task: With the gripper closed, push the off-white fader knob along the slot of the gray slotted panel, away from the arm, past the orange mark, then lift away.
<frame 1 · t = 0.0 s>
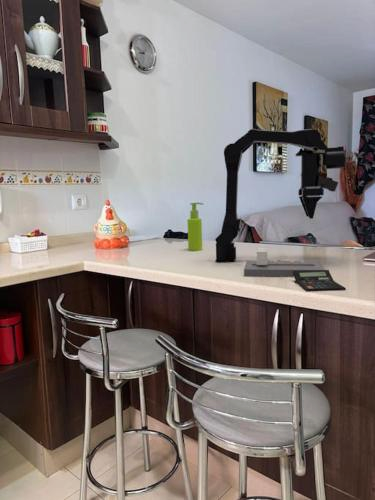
hand: (309, 217, 127), 15 cm above the countertop, tool pointing down, fingers open, 9 cm apart
gray slotted panel: (282, 271, 114), on the countertop
calculator: (317, 286, 97), on the countertop
fader: (262, 256, 114), point 5 cm above the countertop, slide at 0.0 cm
soap dispenser: (196, 250, 162), on the countertop
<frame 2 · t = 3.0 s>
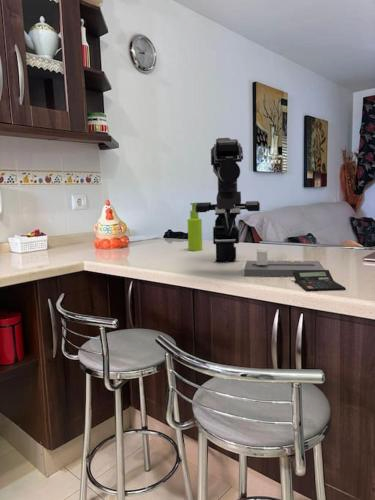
hand: (228, 235, 116), 11 cm above the countertop, tool pointing down, fingers closed
nothing on the countertop moved.
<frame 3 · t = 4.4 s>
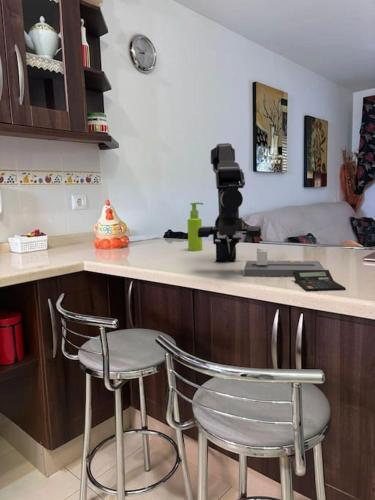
hand: (230, 259, 117), 4 cm above the countertop, tool pointing down, fingers closed
nothing on the countertop moved.
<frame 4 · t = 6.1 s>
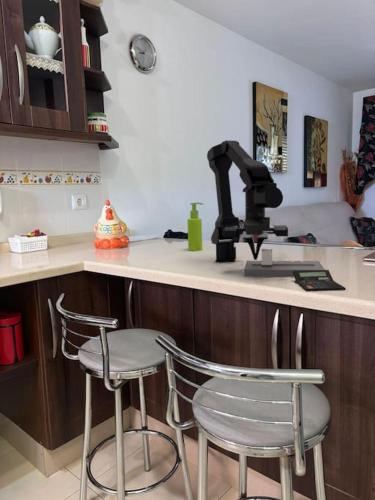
hand: (255, 259, 115), 4 cm above the countertop, tool pointing down, fingers closed
fader: (266, 256, 114), point 5 cm above the countertop, slide at 1.4 cm, touching gripper
everything else where it was.
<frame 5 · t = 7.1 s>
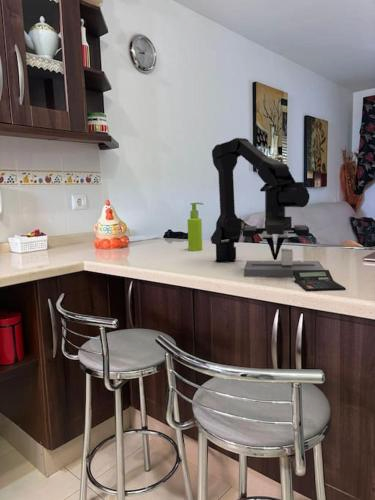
hand: (275, 259, 114), 4 cm above the countertop, tool pointing down, fingers closed
fader: (286, 256, 113), point 5 cm above the countertop, slide at 7.2 cm, touching gripper
everything else where it was.
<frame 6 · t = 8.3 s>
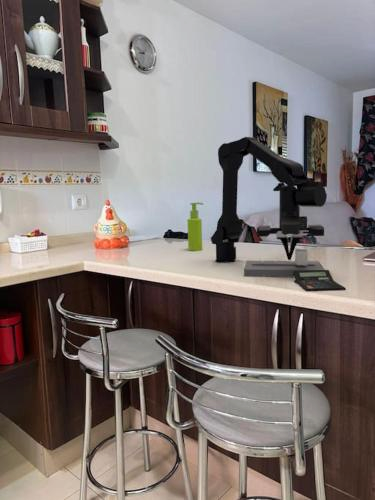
hand: (289, 259, 113), 4 cm above the countertop, tool pointing down, fingers closed
fader: (301, 256, 112), point 5 cm above the countertop, slide at 11.3 cm, touching gripper
everything else where it was.
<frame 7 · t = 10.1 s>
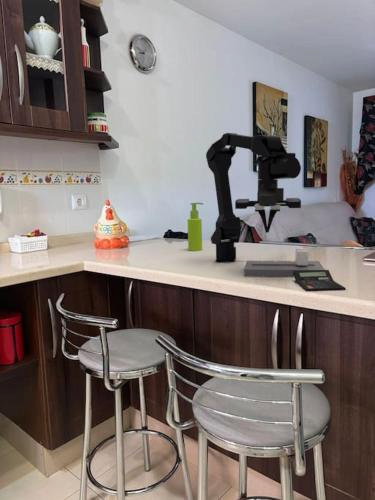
hand: (267, 232, 115), 12 cm above the countertop, tool pointing down, fingers closed
fader: (301, 256, 112), point 5 cm above the countertop, slide at 11.4 cm
everything else where it was.
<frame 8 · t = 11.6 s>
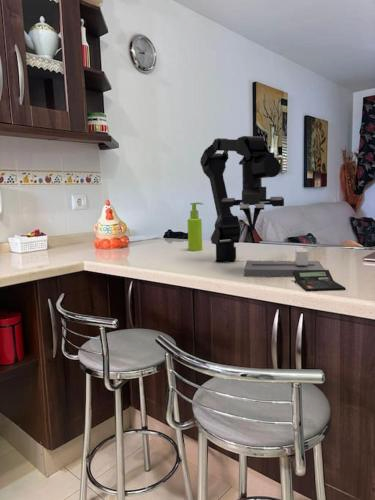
hand: (252, 230, 118), 12 cm above the countertop, tool pointing down, fingers closed
nothing on the countertop moved.
at the end: fader slide at 11.4 cm; calculator moved 0.6 cm from its start; soap dispenser moved 0.2 cm from its start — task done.
